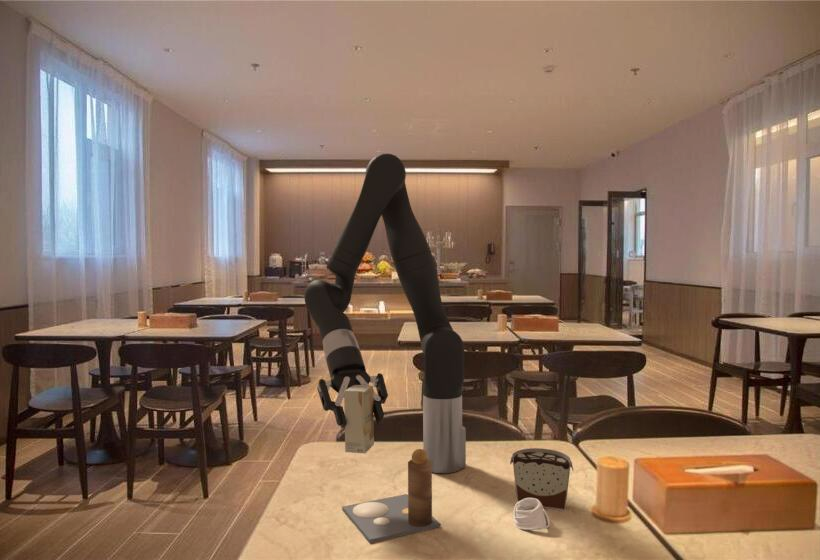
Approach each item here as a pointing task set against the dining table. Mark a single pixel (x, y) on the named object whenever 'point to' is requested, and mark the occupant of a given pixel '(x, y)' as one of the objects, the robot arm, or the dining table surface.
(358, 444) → the skincare box
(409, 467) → the walnut tube
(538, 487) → the food container
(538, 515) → the white crumpled cloth
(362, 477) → the dining table surface
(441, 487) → the dining table surface
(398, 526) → the card
